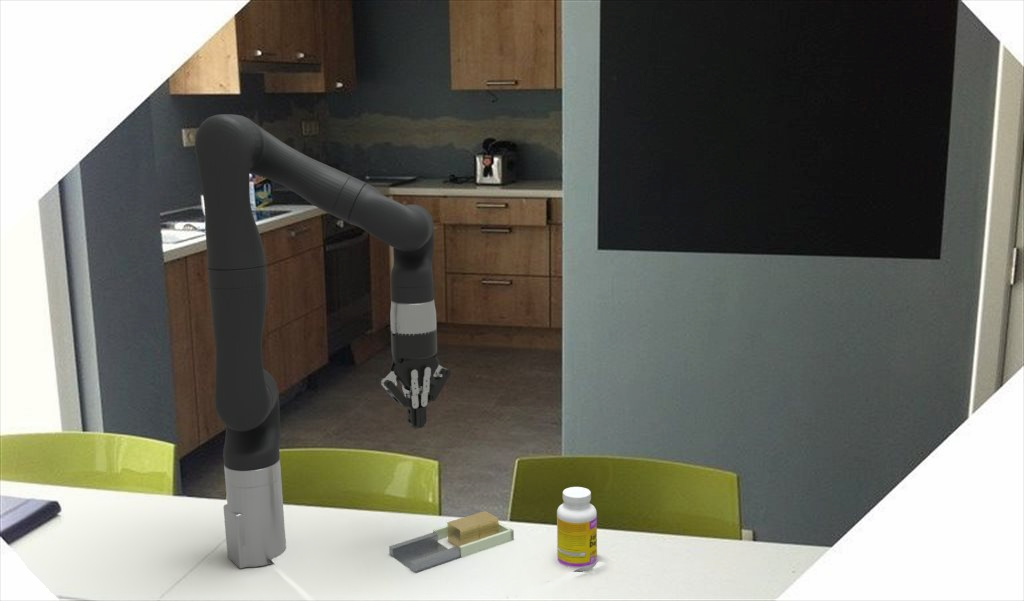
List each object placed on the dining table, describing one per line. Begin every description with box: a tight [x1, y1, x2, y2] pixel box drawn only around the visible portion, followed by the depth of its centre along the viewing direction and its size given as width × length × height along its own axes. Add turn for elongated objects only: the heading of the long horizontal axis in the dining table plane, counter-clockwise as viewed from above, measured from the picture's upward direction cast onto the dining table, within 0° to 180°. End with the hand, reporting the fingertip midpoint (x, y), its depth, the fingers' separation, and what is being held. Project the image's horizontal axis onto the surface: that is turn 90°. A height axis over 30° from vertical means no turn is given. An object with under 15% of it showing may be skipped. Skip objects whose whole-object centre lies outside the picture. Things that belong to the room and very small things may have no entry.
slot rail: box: [388, 531, 463, 574], centre depth 161 cm, size 9×9×2 cm
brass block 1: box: [446, 516, 480, 547], centre depth 166 cm, size 4×4×4 cm
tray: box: [432, 521, 515, 558], centre depth 167 cm, size 11×9×3 cm
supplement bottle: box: [556, 486, 598, 573], centre depth 158 cm, size 7×7×13 cm
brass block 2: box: [467, 510, 499, 539], centre depth 168 cm, size 4×4×4 cm
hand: (417, 427), depth 160 cm, fingers closed
